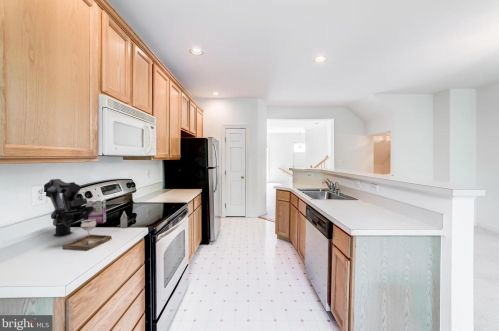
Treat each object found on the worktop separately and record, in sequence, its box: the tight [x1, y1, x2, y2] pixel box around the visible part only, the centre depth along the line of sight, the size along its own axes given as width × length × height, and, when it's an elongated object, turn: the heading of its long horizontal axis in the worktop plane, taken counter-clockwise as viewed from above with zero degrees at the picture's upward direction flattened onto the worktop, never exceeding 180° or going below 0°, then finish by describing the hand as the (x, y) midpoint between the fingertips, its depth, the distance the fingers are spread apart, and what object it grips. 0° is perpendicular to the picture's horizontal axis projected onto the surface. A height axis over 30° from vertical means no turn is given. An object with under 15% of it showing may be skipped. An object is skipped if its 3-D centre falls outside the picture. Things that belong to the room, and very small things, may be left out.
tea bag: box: [120, 210, 128, 229], centre depth 148 cm, size 4×7×10 cm, turn 28°
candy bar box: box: [85, 199, 107, 225], centre depth 155 cm, size 11×5×16 cm, turn 102°
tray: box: [62, 234, 112, 251], centre depth 117 cm, size 16×14×2 cm
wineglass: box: [80, 219, 97, 244], centre depth 117 cm, size 7×7×12 cm
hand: (77, 225), depth 120 cm, fingers open, 9 cm apart
